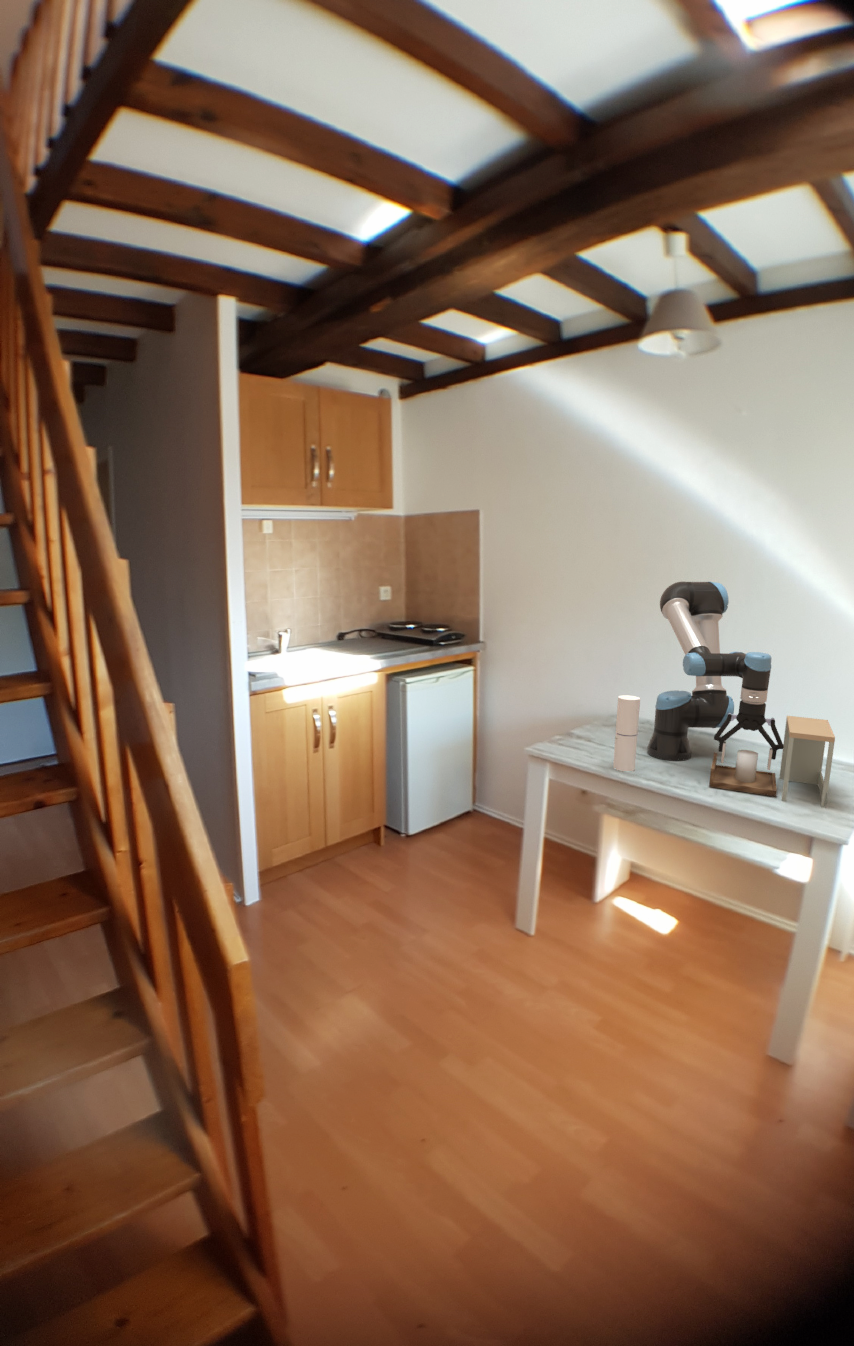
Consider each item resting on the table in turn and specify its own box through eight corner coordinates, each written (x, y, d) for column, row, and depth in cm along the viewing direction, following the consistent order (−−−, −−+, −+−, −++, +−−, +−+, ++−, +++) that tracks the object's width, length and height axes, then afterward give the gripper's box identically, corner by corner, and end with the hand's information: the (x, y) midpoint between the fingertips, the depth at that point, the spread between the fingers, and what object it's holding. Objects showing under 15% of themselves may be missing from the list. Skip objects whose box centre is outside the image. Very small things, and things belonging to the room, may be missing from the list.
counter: (781, 800, 204) (789, 732, 200) (779, 778, 224) (786, 715, 220) (825, 807, 199) (835, 737, 195) (819, 784, 219) (827, 720, 215)
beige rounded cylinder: (734, 780, 216) (737, 753, 215) (735, 775, 222) (737, 748, 220) (755, 783, 214) (758, 756, 212) (755, 778, 219) (758, 751, 217)
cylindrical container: (623, 773, 227) (628, 700, 222) (608, 766, 233) (613, 696, 228) (639, 770, 230) (644, 698, 225) (624, 764, 236) (629, 694, 231)
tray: (709, 786, 214) (710, 768, 213) (712, 769, 231) (714, 752, 230) (776, 796, 206) (778, 778, 205) (774, 778, 223) (776, 761, 221)
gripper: (709, 699, 215) (702, 762, 220) (798, 709, 205) (789, 775, 209) (711, 694, 222) (704, 755, 226) (797, 703, 211) (788, 767, 216)
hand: (745, 765), depth 218 cm, fingers open, 13 cm apart
